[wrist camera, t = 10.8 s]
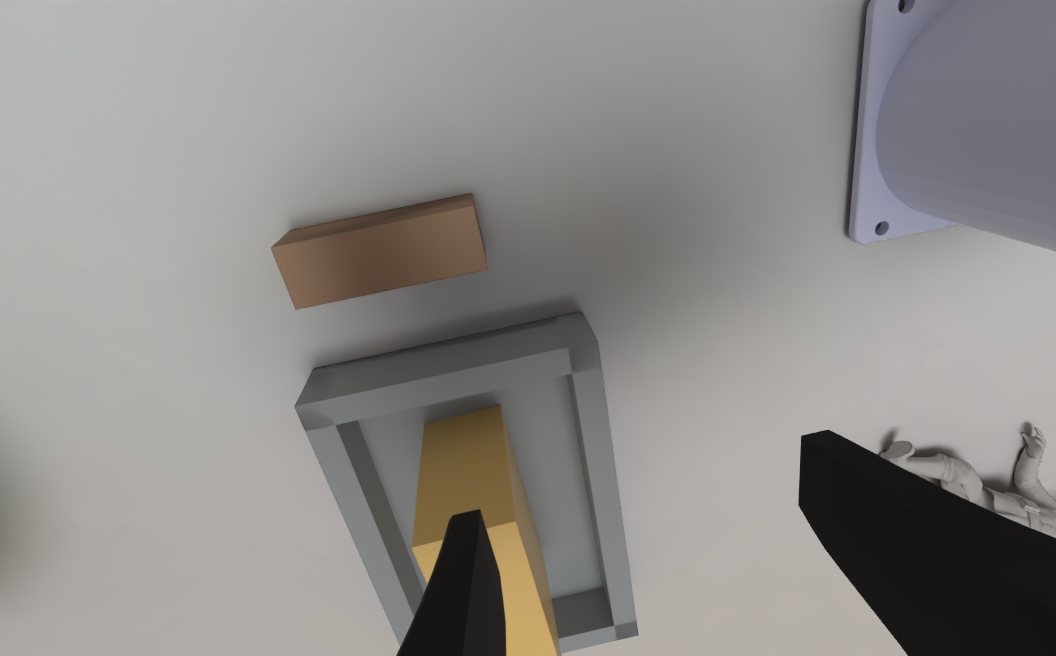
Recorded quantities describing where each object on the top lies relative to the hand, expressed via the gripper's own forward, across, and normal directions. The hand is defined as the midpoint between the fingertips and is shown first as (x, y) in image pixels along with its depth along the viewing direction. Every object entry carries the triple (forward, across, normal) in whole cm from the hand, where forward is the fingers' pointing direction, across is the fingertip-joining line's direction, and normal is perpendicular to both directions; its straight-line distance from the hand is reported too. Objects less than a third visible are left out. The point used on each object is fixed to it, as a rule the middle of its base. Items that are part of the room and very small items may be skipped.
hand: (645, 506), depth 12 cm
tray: (+9, +5, +7) cm, 12 cm away
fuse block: (+9, +5, +6) cm, 12 cm away
